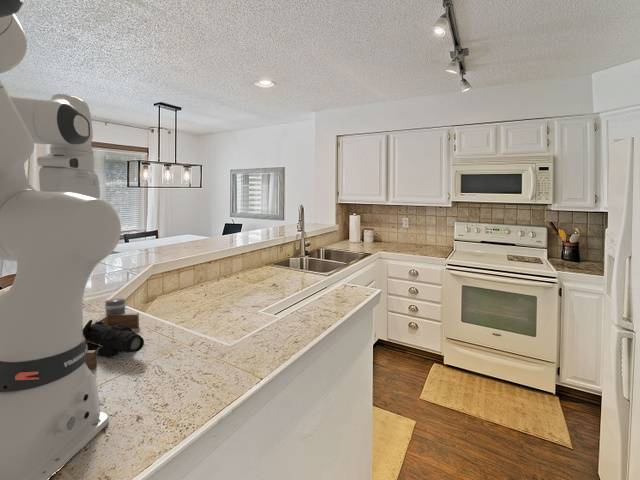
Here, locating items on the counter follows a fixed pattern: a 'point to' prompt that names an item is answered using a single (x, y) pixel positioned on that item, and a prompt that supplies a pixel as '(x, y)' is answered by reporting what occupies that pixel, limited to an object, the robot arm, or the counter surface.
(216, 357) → the counter surface
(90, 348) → the night vision scope
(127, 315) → the bracket
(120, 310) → the gray domed cylinder
